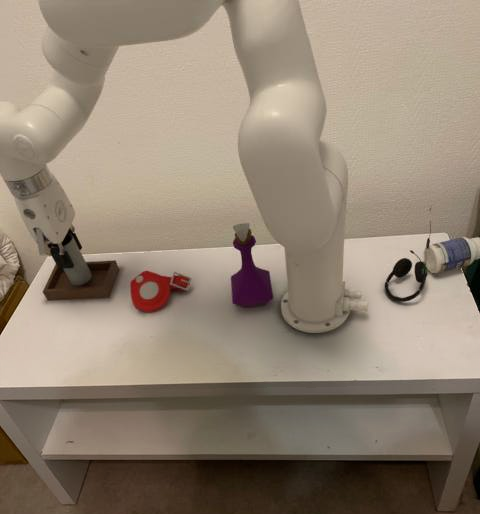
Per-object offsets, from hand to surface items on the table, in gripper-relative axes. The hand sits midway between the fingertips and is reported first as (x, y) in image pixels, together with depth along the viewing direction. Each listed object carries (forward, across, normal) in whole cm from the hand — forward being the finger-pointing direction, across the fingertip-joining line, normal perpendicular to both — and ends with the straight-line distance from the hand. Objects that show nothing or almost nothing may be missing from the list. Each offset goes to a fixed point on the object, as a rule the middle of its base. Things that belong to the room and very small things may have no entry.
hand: (70, 257), depth 96 cm
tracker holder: (+8, -4, -18) cm, 20 cm away
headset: (-3, +6, -72) cm, 72 cm away
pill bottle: (+5, -1, -69) cm, 69 cm away
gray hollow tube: (+6, 0, 0) cm, 6 cm away
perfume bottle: (+8, -6, -36) cm, 38 cm away
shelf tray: (+8, 0, 0) cm, 8 cm away
